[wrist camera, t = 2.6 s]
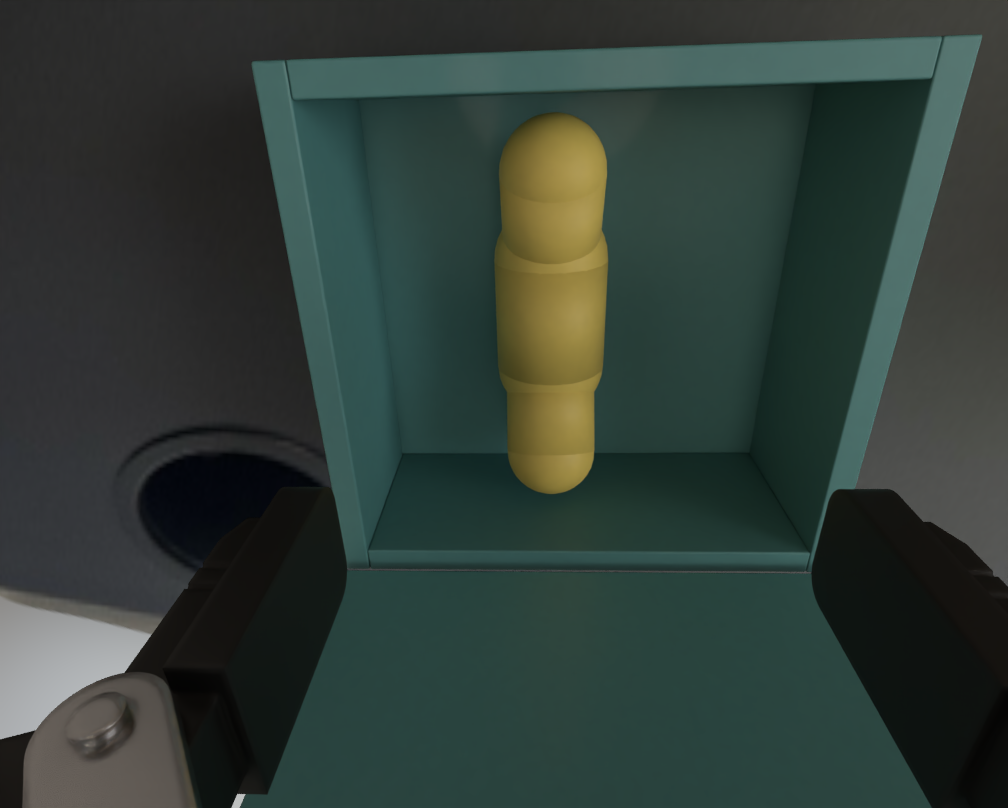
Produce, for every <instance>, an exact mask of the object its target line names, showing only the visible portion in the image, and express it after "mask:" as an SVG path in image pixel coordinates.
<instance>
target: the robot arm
mask: <svg viewBox="0 0 1008 808" xmlns="http://www.w3.org/2000/svg"><path fill="white" fill-rule="evenodd" d="M811 578H812V587H813V592H814V596H815V599H816V601H817V604H818V606H819V608H820V610H821V611H822V613H823V615H824V617H825V619H826V620H827V622H828V624H829V626H830V627H831V629H832V631H833V633H834V635H835V636H836V638H837V640H838V642H839V643H840V645H841V647H842V649H843V651H844V652H845V654H846V656H847V658H848V659H849V661H850V663H851V665H852V667H853V668H854V670H855V672H856V674H857V675H858V677H859V679H860V681H861V683H862V684H863V686H864V688H865V690H866V692H867V693H868V695H869V697H870V699H871V700H872V702H873V704H874V706H875V708H876V709H877V711H878V713H879V715H880V716H881V718H882V720H883V722H884V724H885V725H886V727H887V729H888V731H889V732H890V734H891V736H892V738H893V740H894V741H895V743H896V745H897V747H898V748H899V750H900V752H901V754H902V756H903V757H904V759H905V761H906V763H907V764H908V766H909V768H910V770H911V772H912V773H913V775H914V777H915V779H916V781H917V782H918V784H919V786H920V788H921V789H922V791H923V793H924V795H925V797H926V798H927V800H928V802H929V804H930V805H931V807H932V808H1008V586H1007V585H1006V584H1005V583H1004V582H1003V581H1002V580H1001V579H1000V578H999V577H994V576H993V571H992V570H991V569H990V568H989V567H988V566H987V565H986V564H985V563H984V562H983V561H982V560H981V559H980V558H979V557H978V556H977V555H976V554H975V553H974V551H973V550H972V549H971V548H970V547H969V546H968V545H967V544H965V543H963V542H962V541H960V540H959V539H957V538H955V537H954V536H952V535H951V534H949V533H947V532H946V531H944V530H943V529H941V528H939V527H938V526H936V525H935V524H933V523H931V522H923V521H922V520H921V519H920V518H919V517H918V516H917V515H916V513H915V512H914V511H913V510H912V509H911V508H910V507H909V506H908V505H907V504H906V503H905V502H904V500H903V499H902V498H901V497H900V496H899V495H898V494H897V493H896V492H894V491H892V490H890V489H838V490H836V491H834V492H833V493H832V495H831V497H830V499H829V502H828V505H827V509H826V513H825V517H824V521H823V525H822V529H821V533H820V536H819V540H818V544H817V548H816V552H815V556H814V560H813V564H812V571H811ZM346 581H347V560H346V554H345V549H344V544H343V538H342V533H341V528H340V523H339V517H338V512H337V507H336V501H335V497H334V494H333V492H332V490H331V489H330V488H329V487H283V488H281V489H280V490H279V491H278V492H277V494H276V495H275V497H274V498H273V500H272V501H271V503H270V504H269V506H268V507H267V509H266V510H265V512H264V513H263V515H262V516H261V518H247V519H246V520H244V521H243V522H242V523H241V524H239V525H238V526H237V527H235V528H234V529H233V530H231V531H230V532H229V533H227V534H226V535H225V536H223V537H222V538H221V539H220V540H219V542H218V543H217V544H216V546H215V547H214V549H213V550H212V551H211V553H210V554H209V556H208V557H207V558H206V560H205V561H204V563H203V568H199V570H198V571H197V572H196V574H195V575H194V577H193V578H192V579H191V581H190V582H189V583H188V585H189V586H188V589H184V590H183V592H182V593H181V595H180V596H179V597H178V599H177V600H176V602H175V603H174V604H173V606H172V607H171V609H170V610H169V611H168V613H167V614H166V616H165V617H164V618H163V620H162V621H161V623H160V624H159V625H158V627H157V628H156V630H155V631H154V632H153V634H152V635H151V637H150V638H149V639H148V641H147V642H146V644H145V645H144V646H143V648H142V649H141V650H140V652H139V653H138V655H137V656H136V657H135V659H134V660H133V662H132V663H131V664H130V666H129V667H128V669H127V670H126V671H125V673H122V674H117V675H114V676H110V677H107V678H104V679H102V680H99V681H97V682H95V683H93V684H90V685H88V686H86V687H85V688H83V689H81V690H80V691H78V692H76V693H75V694H73V695H72V696H70V697H69V698H68V699H66V700H65V701H63V702H62V703H61V704H60V705H59V706H57V707H56V708H55V709H54V710H53V711H52V712H51V713H50V714H49V715H48V716H47V717H46V718H45V719H44V721H43V722H42V723H41V724H40V725H39V727H38V728H37V730H35V731H31V732H28V733H24V734H20V735H16V736H12V737H8V738H4V739H0V808H231V807H232V805H233V802H234V800H235V798H236V795H237V794H261V795H267V794H268V792H269V789H270V787H271V784H272V781H273V779H274V776H275V774H276V771H277V768H278V766H279V763H280V761H281V758H282V755H283V753H284V750H285V748H286V745H287V742H288V740H289V737H290V735H291V732H292V729H293V727H294V724H295V722H296V719H297V716H298V714H299V711H300V709H301V706H302V703H303V701H304V698H305V696H306V693H307V690H308V688H309V685H310V683H311V680H312V677H313V675H314V672H315V670H316V667H317V664H318V662H319V659H320V657H321V654H322V651H323V649H324V646H325V644H326V641H327V638H328V636H329V633H330V631H331V628H332V625H333V623H334V620H335V618H336V615H337V612H338V610H339V607H340V605H341V602H342V599H343V596H344V593H345V588H346Z"/></svg>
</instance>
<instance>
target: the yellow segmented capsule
mask: <svg viewBox="0 0 1008 808" xmlns="http://www.w3.org/2000/svg"><path fill="white" fill-rule="evenodd" d="M606 179H607V159H606V155H605V151H604V148H603V145H602V143H601V141H600V139H599V137H598V136H597V134H596V133H595V132H594V131H593V129H592V128H591V127H590V126H589V125H588V124H586V123H585V122H584V121H582V120H581V119H579V118H577V117H575V116H573V115H570V114H565V113H560V112H549V113H544V114H540V115H536V116H534V117H532V118H530V119H528V120H527V121H525V122H524V123H522V124H521V125H520V126H519V127H518V128H517V129H516V130H515V131H514V132H513V133H512V134H511V136H510V137H509V139H508V141H507V143H506V145H505V146H504V148H503V152H502V156H501V159H500V164H499V182H500V200H501V218H502V231H501V233H500V235H499V237H498V240H497V244H496V247H495V258H494V263H495V291H496V319H497V347H498V367H499V374H500V379H501V381H502V384H503V386H504V388H505V390H506V391H507V448H508V459H509V462H510V465H511V468H512V470H513V472H514V474H515V475H516V477H517V478H518V479H519V480H520V481H521V482H522V483H523V484H524V485H526V486H527V487H528V488H530V489H532V490H534V491H537V492H541V493H545V494H558V493H562V492H566V491H568V490H570V489H572V488H574V487H575V486H577V485H578V484H579V483H581V482H582V481H583V479H584V478H585V477H586V476H587V474H588V472H589V471H590V469H591V466H592V463H593V459H594V391H595V390H596V388H597V386H598V384H599V381H600V378H601V375H602V369H603V356H604V336H605V315H606V295H607V275H608V250H607V243H606V240H605V236H604V234H603V232H602V220H603V210H604V200H605V190H606Z"/></svg>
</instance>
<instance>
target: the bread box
mask: <svg viewBox="0 0 1008 808" xmlns="http://www.w3.org/2000/svg"><path fill="white" fill-rule="evenodd" d="M981 39H982V35H980V34H978V35H951V36H924V37H897V38H869V39H842V40H814V41H787V42H759V43H732V44H704V45H676V46H649V47H621V48H594V49H566V50H539V51H511V52H483V53H456V54H428V55H401V56H373V57H346V58H318V59H290V60H264V61H253V62H252V71H253V76H254V81H255V86H256V92H257V97H258V102H259V107H260V113H261V118H262V123H263V128H264V134H265V139H266V144H267V149H268V155H269V160H270V165H271V171H272V176H273V181H274V186H275V192H276V197H277V202H278V207H279V213H280V218H281V223H282V228H283V234H284V239H285V244H286V249H287V255H288V260H289V265H290V270H291V276H292V281H293V286H294V292H295V297H296V302H297V307H298V313H299V318H300V323H301V328H302V334H303V339H304V344H305V349H306V355H307V360H308V365H309V370H310V376H311V381H312V386H313V391H314V397H315V402H316V407H317V413H318V418H319V423H320V428H321V434H322V439H323V444H324V449H325V455H326V460H327V465H328V470H329V476H330V481H331V486H332V491H333V494H334V497H335V501H336V507H337V512H338V517H339V523H340V528H341V533H342V538H343V544H344V549H345V554H346V560H347V568H349V569H368V568H370V566H371V568H372V569H478V570H626V571H774V572H804V571H806V572H811V571H812V564H813V560H814V556H815V552H816V548H817V544H818V540H819V536H820V533H821V529H822V525H823V521H824V517H825V513H826V509H827V505H828V502H829V499H830V497H831V495H832V493H833V492H834V491H836V490H838V489H855V486H856V483H857V479H858V475H859V472H860V468H861V465H862V461H863V458H864V454H865V451H866V447H867V444H868V440H869V436H870V433H871V429H872V426H873V422H874V419H875V415H876V412H877V408H878V405H879V401H880V397H881V394H882V390H883V387H884V383H885V380H886V376H887V373H888V369H889V365H890V362H891V358H892V355H893V351H894V348H895V344H896V341H897V337H898V334H899V330H900V326H901V323H902V319H903V316H904V312H905V309H906V305H907V302H908V298H909V295H910V291H911V287H912V284H913V280H914V277H915V273H916V270H917V266H918V263H919V259H920V255H921V252H922V248H923V245H924V241H925V238H926V234H927V231H928V227H929V224H930V220H931V216H932V213H933V209H934V206H935V202H936V199H937V195H938V192H939V188H940V185H941V181H942V177H943V174H944V170H945V167H946V163H947V160H948V156H949V153H950V149H951V145H952V142H953V138H954V135H955V131H956V128H957V124H958V121H959V117H960V114H961V110H962V106H963V103H964V99H965V96H966V92H967V89H968V85H969V82H970V78H971V75H972V71H973V67H974V64H975V60H976V57H977V53H978V50H979V46H980V43H981ZM549 112H560V113H565V114H570V115H573V116H575V117H577V118H579V119H581V120H582V121H584V122H585V123H586V124H588V125H589V126H590V127H591V128H592V129H593V131H594V132H595V133H596V134H597V136H598V137H599V139H600V141H601V143H602V145H603V148H604V151H605V155H606V159H607V179H606V190H605V200H604V210H603V220H602V232H603V234H604V236H605V240H606V243H607V250H608V275H607V295H606V315H605V336H604V356H603V369H602V375H601V378H600V381H599V384H598V386H597V388H596V390H595V391H594V459H593V463H592V466H591V469H590V471H589V472H588V474H587V476H586V477H585V478H584V479H583V481H582V482H581V483H579V484H578V485H577V486H575V487H574V488H572V489H570V490H568V491H566V492H562V493H558V494H545V493H541V492H537V491H534V490H532V489H530V488H528V487H527V486H526V485H524V484H523V483H522V482H521V481H520V480H519V479H518V478H517V477H516V475H515V474H514V472H513V470H512V468H511V465H510V462H509V459H508V448H507V391H506V390H505V388H504V386H503V384H502V381H501V379H500V374H499V367H498V347H497V319H496V291H495V263H494V258H495V247H496V244H497V240H498V237H499V235H500V233H501V231H502V218H501V200H500V182H499V164H500V159H501V156H502V152H503V148H504V146H505V145H506V143H507V141H508V139H509V137H510V136H511V134H512V133H513V132H514V131H515V130H516V129H517V128H518V127H519V126H520V125H521V124H522V123H524V122H525V121H527V120H528V119H530V118H532V117H534V116H536V115H540V114H544V113H549Z"/></svg>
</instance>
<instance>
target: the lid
mask: <svg viewBox="0 0 1008 808" xmlns="http://www.w3.org/2000/svg"><path fill="white" fill-rule="evenodd" d="M240 808H932V807H931V805H930V804H929V802H928V800H927V798H926V797H925V795H924V793H923V791H922V789H921V788H920V786H919V784H918V782H917V781H916V779H915V777H914V775H913V773H912V772H911V770H910V768H909V766H908V764H907V763H906V761H905V759H904V757H903V756H902V754H901V752H900V750H899V748H898V747H897V745H896V743H895V741H894V740H893V738H892V736H891V734H890V732H889V731H888V729H887V727H886V725H885V724H884V722H883V720H882V718H881V716H880V715H879V713H878V711H877V709H876V708H875V706H874V704H873V702H872V700H871V699H870V697H869V695H868V693H867V692H866V690H865V688H864V686H863V684H862V683H861V681H860V679H859V677H858V675H857V674H856V672H855V670H854V668H853V667H852V665H851V663H850V661H849V659H848V658H847V656H846V654H845V652H844V651H843V649H842V647H841V645H840V643H839V642H838V640H837V638H836V636H835V635H834V633H833V631H832V629H831V627H830V626H829V624H828V622H827V620H826V619H825V617H824V615H823V613H822V611H821V610H820V608H819V606H818V604H817V601H816V599H815V596H814V592H813V587H812V578H811V574H781V573H637V572H492V571H348V570H347V581H346V588H345V593H344V596H343V599H342V602H341V605H340V607H339V610H338V612H337V615H336V618H335V620H334V623H333V625H332V628H331V631H330V633H329V636H328V638H327V641H326V644H325V646H324V649H323V651H322V654H321V657H320V659H319V662H318V664H317V667H316V670H315V672H314V675H313V677H312V680H311V683H310V685H309V688H308V690H307V693H306V696H305V698H304V701H303V703H302V706H301V709H300V711H299V714H298V716H297V719H296V722H295V724H294V727H293V729H292V732H291V735H290V737H289V740H288V742H287V745H286V748H285V750H284V753H283V755H282V758H281V761H280V763H279V766H278V768H277V771H276V774H275V776H274V779H273V781H272V784H271V787H270V789H269V792H268V794H267V795H261V794H246V795H245V797H244V799H243V802H242V804H241V806H240Z"/></svg>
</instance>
